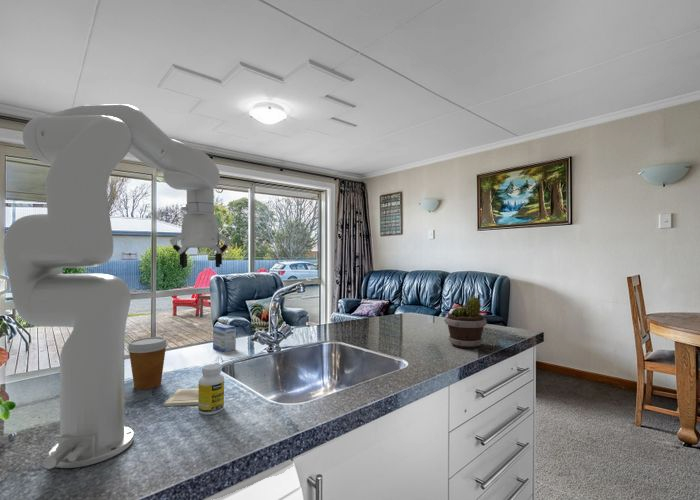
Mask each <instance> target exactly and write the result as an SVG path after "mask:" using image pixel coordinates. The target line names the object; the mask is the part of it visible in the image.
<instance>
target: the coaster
mask: <svg viewBox="0 0 700 500" xmlns="http://www.w3.org/2000/svg"><path fill="white" fill-rule="evenodd" d="M198 391H199V387H197V388H194V387H193V388H192V387H191V388H177V389H176V391H175V392H173V394H172V395H171V396H170V397H168V399H166V401H165V402H164V403H163V407H177V406H196V405H197V406H198Z"/></svg>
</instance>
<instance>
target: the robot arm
mask: <svg viewBox="0 0 700 500" xmlns="http://www.w3.org/2000/svg"><path fill="white" fill-rule="evenodd" d="M22 141H23V145H24V147H25V148H26V150H27V152H28V153H29V155H30V156H32V157H33V158H34V159H36V160H37V161H39V162H42V163H43V164H47V165H50V167H49V169H48V171H47V174H46V177H45V184H44V191H45V200H46V212H47V214H45V213H39V214H29V215H25V216H22V217H19V218H18V219H16V220H15V221H14V222H12V223H11V225H9V227H8V228H7V231H6V232H5V235H4V239H3V244H2V245H3V248H2V249H3V255H4V261H5V266H6V270H7V277H8V280H9V286H10V290H11V294H12V295H11V296H12V300H13V304H14V307H15V310H16V312H17V314H18V316H19V318H21V319H22V321H24V322H25V323H27V324H29V325H31V326H34V327H35V326H36V327H47V328H48V327H51V328H52V327H53V328H61V327H63V328H72V331H71V333H70V335H69V336H68V338H67V339H66V341H65V342H64V344H63V346H62V348H61V351H60V355H59V437H58V438H57V442H58V443H56V444H55V445H54V446H53V447H51V449H49V451H48V453H47V454H48V455H47V457H45V458H44V459H43V460H42V461H43V462H42V465H43V467H44V468H46V469H49V470H51V469H54V468H60V469H74V468H82V467H86V466H91V465H95V464H99V463H101V462H104V461H106V460H110V459H111V458H113V457H115V456H117V455H119V454H121V453H123V452H124V451H125V450H126V449H128V448H129V447H130V446H131V445H132V444H133V442H134V440H135V432H134V430H133V429H132V428H130V427H128V426H125V337H126V336H125V335H126V326H127V319H128V316H129V311H130V305H131V299H132V297H131V296H132V295H131V290H130V287H129V286H128V284H127V282H125V280H123V279H122V278H120V277H118V276H115V275H112V274H108V273H107V274H106V273H63V269H77V268H78V269H84V268H94V267H95V268H96V267H99V266H102V265H104V264H106V263H108V262H109V261H110V259H111V258H112V257H113V253H114V238H113V230H112V229H113V228H112V222H111V217H110V216H111V215H110V207H109V201H108V182H109V180H110V177H111V175H112V173H113V171H114V170H115V168H116V167H117V166H118V165H119V163H120V162H121V161H123V159H124V158H126V157H127V155H128V154H131V155H132V156H133V157H135V158H136V159H137V160H139V161H140V162H142V163H143V164H144V165H145V166H148V167H149V168H151V169H155V170H159V171H163V179H164V181H165V183H166V184H167V186H169V187H170V188H172V189H175V190H179V191H183V190H184V191H186V203H185V205H183V206H181V210H182V211H184V212H185V213H184V214H183V217H182V223H181V232H180V234H178V235H176V236H174V237H172V238H169V242H170V244H171V246H172V247H173V249H174V250H175V251H176V252H177V253H178V255H179V265H180V266H181V268H183V269H184V268H187V267H188V254H187V253H186V252H187V251H188V250H189V249H190V248H193V249H194V248H195V249H196V248H197V249H198V248H202V249H203V248H204V249H205V248H206V249H207V248H212V249H213V250H214V251H215V252H216V253H215V255H214V256H215V265H214V266H215V267H216V268H220V267H221V265H222V264H223V253H224V252H225V251H226V250H227V249H228V247H229V246H230V244H231V242H232V240H231V238H229V237H227V236H225V235H223V234H222V233H220V229H219V223H218V218H217V217H218V216H217V215H216V214H215V204H214V203H215V197H214V196H215V195H214V194H215V193H214V191H215V188H216V187H218V186H219V183H220V181H221V180H220V179H221V176H220V171H219V168H218V166H217V164H216V163H215V162H214V160H213V159H212V158H211V157H210V156H209V155H208V154H207V153H205V152H204V151H202V150H200V149H199V148H196V147H193V146H191V145H189V144H186V143H184V142H182V141H180V140H176V139H173V138H171V137H169V136H168V135H167V134H166V133H165V132H164V131H163V130H162V129H161V128H160V127H158V125H156V124H155V122H153V121H152V119H150V118H149V117H148V116H147V115H146V114H145V113H144V112H143V111H142V110H141V109H139V108H138V107H136V106H134V105H130V104H123V103H121V104H120V103H110V104H109V103H108V104H85V105H79V106H74V107H70V108H67V109H64V110H59V111H55V112H51V113H50V112H49V113H46V114H43V115H38V116H36V117H34V118H32V119H31V120H29V121H28V122H27V123H26V125H25V126H24V129H23V132H22ZM220 240H222V241H223V242H224V244H223V245H222V246H220ZM179 241H180V245H181V246H180V245H179V244H178V242H179Z"/></svg>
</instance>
